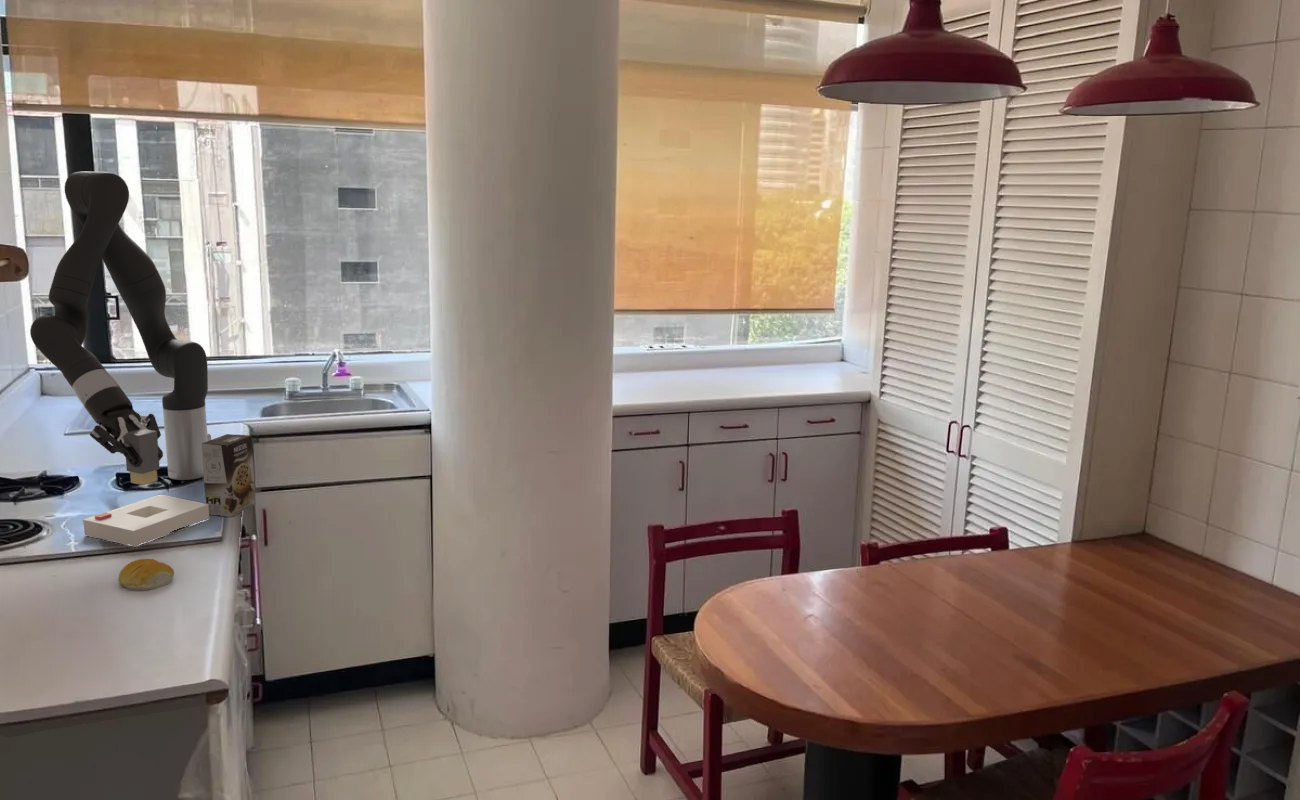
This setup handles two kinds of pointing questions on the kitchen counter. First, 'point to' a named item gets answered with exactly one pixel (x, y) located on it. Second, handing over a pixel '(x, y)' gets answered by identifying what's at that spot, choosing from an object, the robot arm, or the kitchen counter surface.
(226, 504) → the coffee box
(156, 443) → the plug
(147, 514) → the socket plate
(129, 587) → the bread roll
